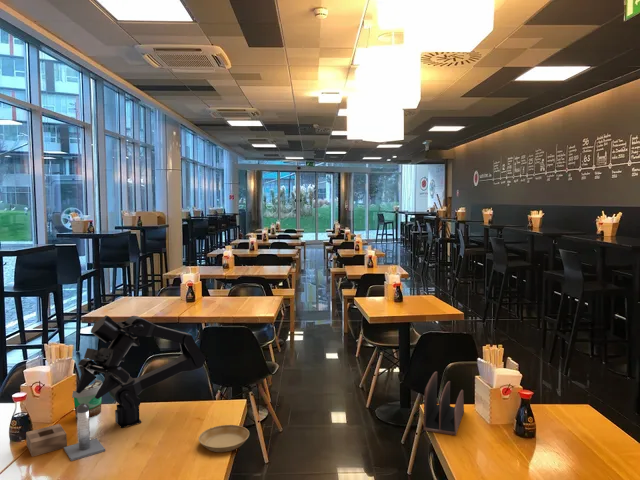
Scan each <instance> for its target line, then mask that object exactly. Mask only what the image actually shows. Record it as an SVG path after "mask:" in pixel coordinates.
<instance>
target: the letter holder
mask: <svg viewBox="0 0 640 480" xmlns="http://www.w3.org/2000/svg"><path fill="white" fill-rule="evenodd" d="M438 376H439V375H438V371H434V372H433V373H432V375H431V377H430V378H429V380H428V382H427V384H426V386H425V388H424V395H423V396H424V400H423V403H424V404H423V431H426V432H432V433H438V434H444V435H450V436H457V432H458V430H459V428H460V425H461V421H462V419H463V416H464V412H465V406H464V405H465V404H464V403H465V402H464V401H465V400H464V398H465V397H464V390H463V389H460V391H459V393H458V395H457V398H456V402H455V405H454V406H451V381H450V380H448V381H447V382H446V384H445V385H444V387H443V389H442V390H441V391H442V392H441V395H440V397H439V400H438V404H437V395H438Z"/></svg>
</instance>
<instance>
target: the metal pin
mask: <svg viewBox="0 0 640 480" xmlns="http://www.w3.org/2000/svg"><path fill="white" fill-rule="evenodd" d="M77 416H78V419H77V437H78V443H79V450H87V449H89V448H90V440H91V433H90V432H91V431H90V430H91V429H90V427H91V426H90V418H89V406H88V405H87V404H85V403H83V404H80V405H79V406H78V407H77Z"/></svg>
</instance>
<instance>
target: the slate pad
mask: <svg viewBox="0 0 640 480" xmlns="http://www.w3.org/2000/svg"><path fill="white" fill-rule="evenodd" d="M63 449H64V452H65V454H66V455H67V456H68V459H70V461H71V462H72V461H76V460H81V459H82V458H86V457H89V456H93V455H96V454H99V453H103V452H106V448H105V447H104V445H103V444H102V443H101V441H100V440H99V439H98V438H92V439H90V448H89V449H87V450H79V442H78V443H74V444H70V445H67V446H66V447H64V448H63Z"/></svg>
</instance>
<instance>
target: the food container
mask: <svg viewBox="0 0 640 480" xmlns="http://www.w3.org/2000/svg"><path fill="white" fill-rule="evenodd" d="M102 383H103V381H102V380H101V379H94V381H93V382H92V383H90V384H89V385H88V386H87V387H86V388H85V389H84V390H83V391H82V392H81V393H79V394H78V393H77V392H76V391H77V390H72V395H71V397H72V398H73V403H74V404H73V405H74V411H75V420H78V416H77V407H78V406H79V405H80V404H83V403H85V404H87V405H88V406H89V419H91V418H94V417H96V416H99V415H100V414H101V412H102V397H103V396H102V397H100V398H99V399H96V398H95V396H96V394H97V392H98V390H99V389H100V387H101V385H102Z"/></svg>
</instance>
